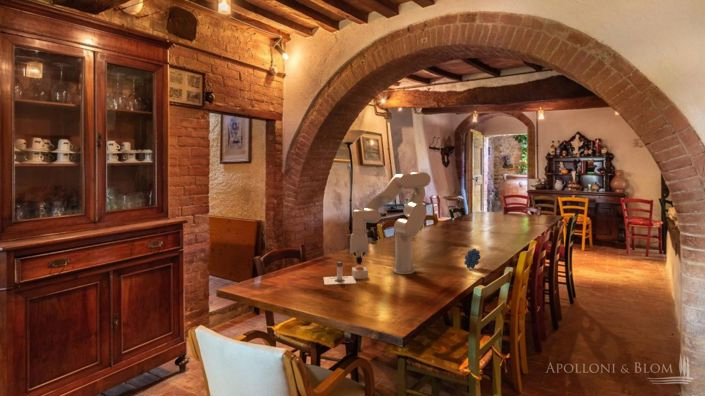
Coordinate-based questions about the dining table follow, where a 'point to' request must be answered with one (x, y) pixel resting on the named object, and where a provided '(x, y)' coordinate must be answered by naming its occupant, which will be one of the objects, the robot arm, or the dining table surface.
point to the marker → (339, 271)
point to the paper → (334, 281)
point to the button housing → (359, 273)
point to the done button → (359, 267)
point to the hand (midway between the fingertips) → (359, 263)
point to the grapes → (472, 258)
